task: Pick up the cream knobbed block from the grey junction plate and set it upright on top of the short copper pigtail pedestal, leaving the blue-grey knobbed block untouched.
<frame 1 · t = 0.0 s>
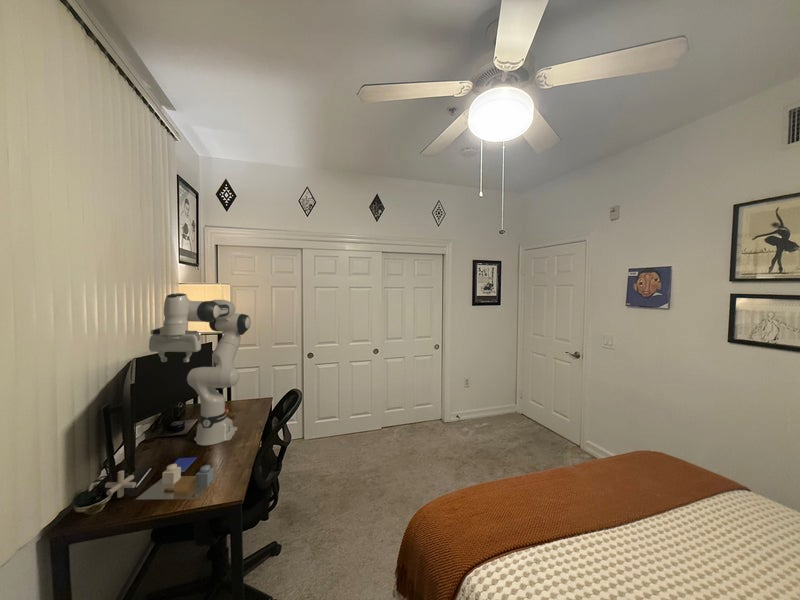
hand: (175, 361, 135), 48 cm above the table, fingers open, 8 cm apart
blue-grey knobbed block: (205, 481, 127), point 1 cm above the table, touching junction plate
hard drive: (180, 468, 139), on the table
junction plate: (179, 488, 123), on the table
pigtail stub: (185, 492, 121), resting on junction plate
pipe connector: (120, 498, 117), on the table
cream knobbed block: (171, 480, 127), point 1 cm above the table, touching junction plate
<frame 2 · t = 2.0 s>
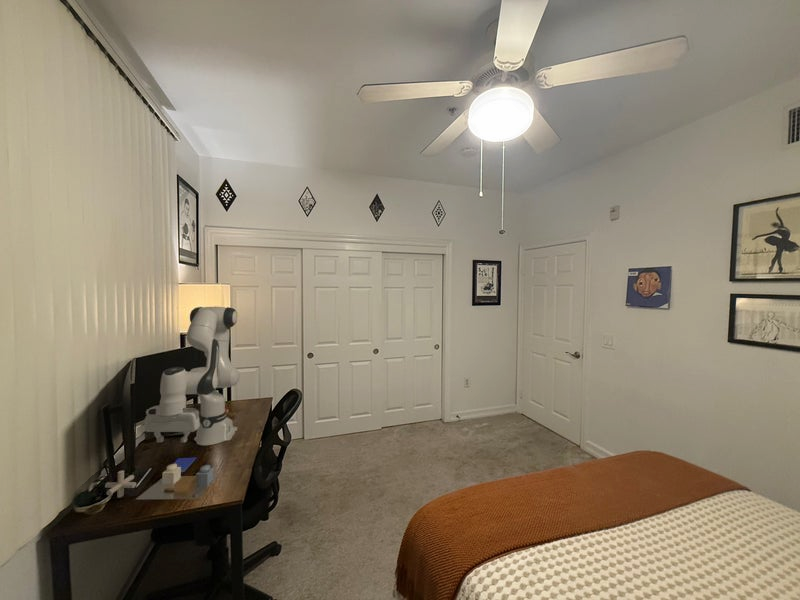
hand: (172, 441, 127), 17 cm above the table, fingers open, 8 cm apart
nothing on the table moved.
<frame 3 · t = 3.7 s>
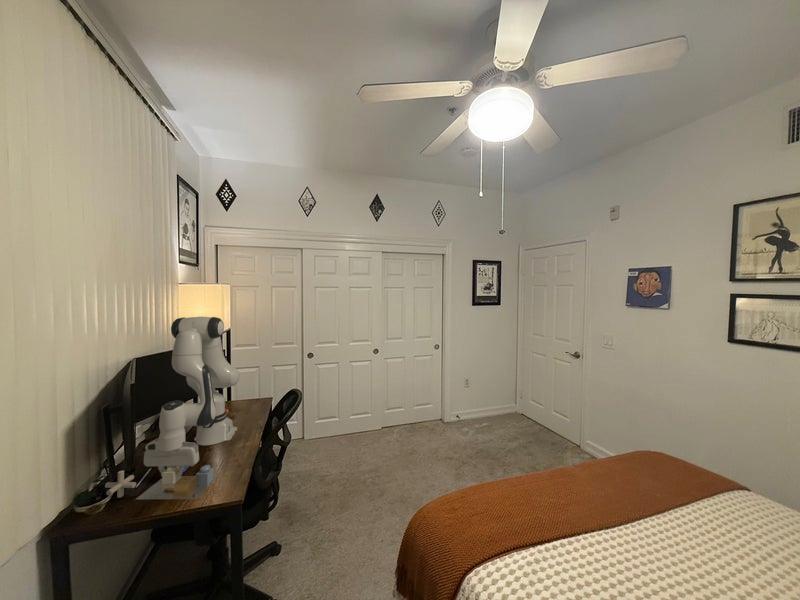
hand: (171, 475, 127), 3 cm above the table, fingers closed on cream knobbed block, 4 cm apart
cream knobbed block: (171, 480, 127), point 1 cm above the table, touching gripper, junction plate
everything else where it was.
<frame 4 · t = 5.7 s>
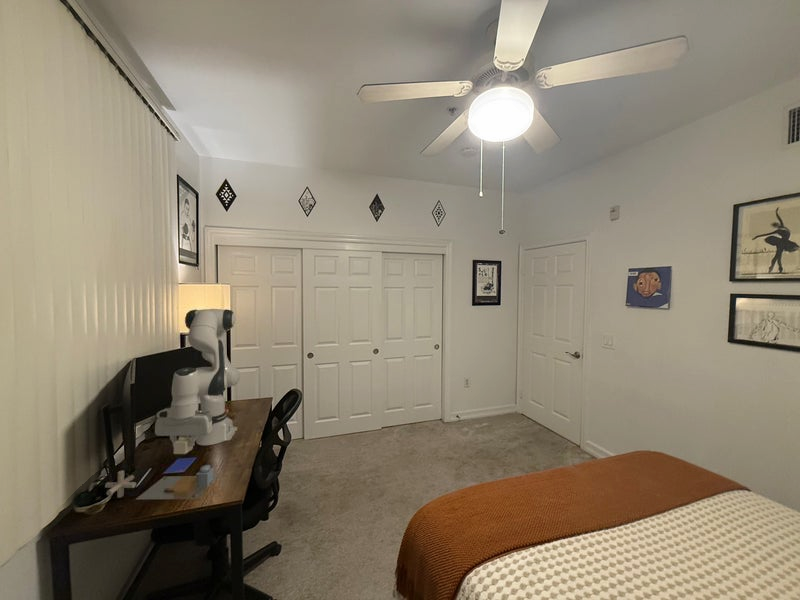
hand: (183, 446, 121), 18 cm above the table, fingers closed on cream knobbed block, 4 cm apart
cream knobbed block: (183, 451, 121), point 16 cm above the table, touching gripper
everything else where it was.
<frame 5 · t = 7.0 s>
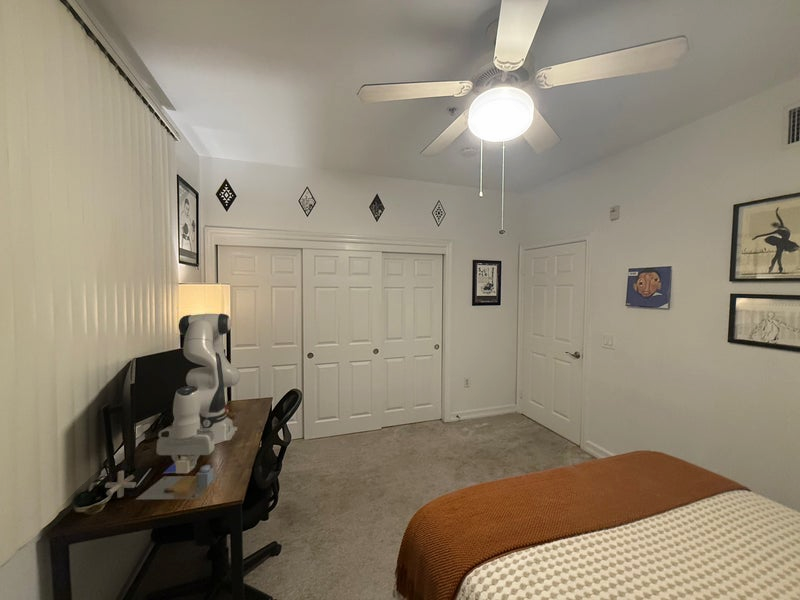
hand: (185, 465, 120), 11 cm above the table, fingers closed on cream knobbed block, 4 cm apart
cream knobbed block: (185, 470, 120), point 9 cm above the table, touching gripper
everything else where it was.
when the fingers open (8 cm above the table, at t = 7.9 s): cream knobbed block stays where it is, resting on pigtail stub.
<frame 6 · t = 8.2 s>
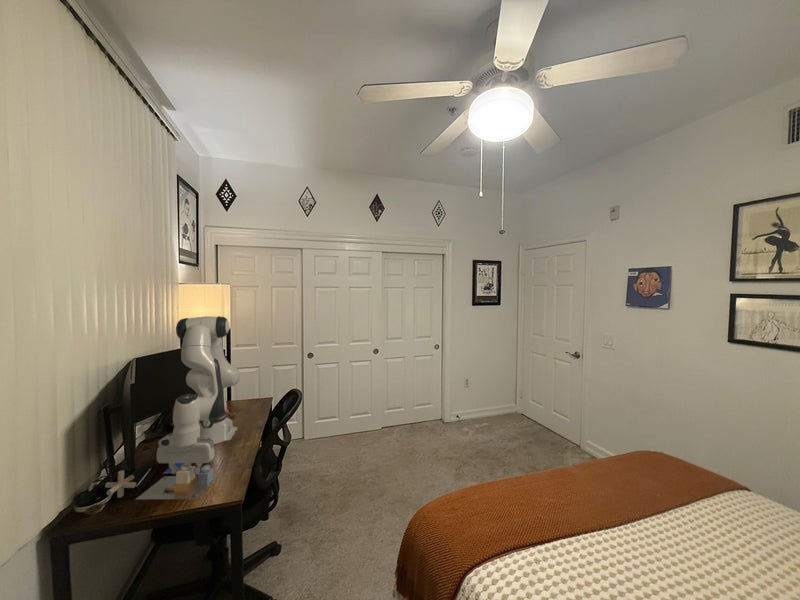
hand: (185, 473, 121), 8 cm above the table, fingers open, 7 cm apart
cream knobbed block: (185, 480, 121), point 5 cm above the table, touching pigtail stub
everything else where it was.
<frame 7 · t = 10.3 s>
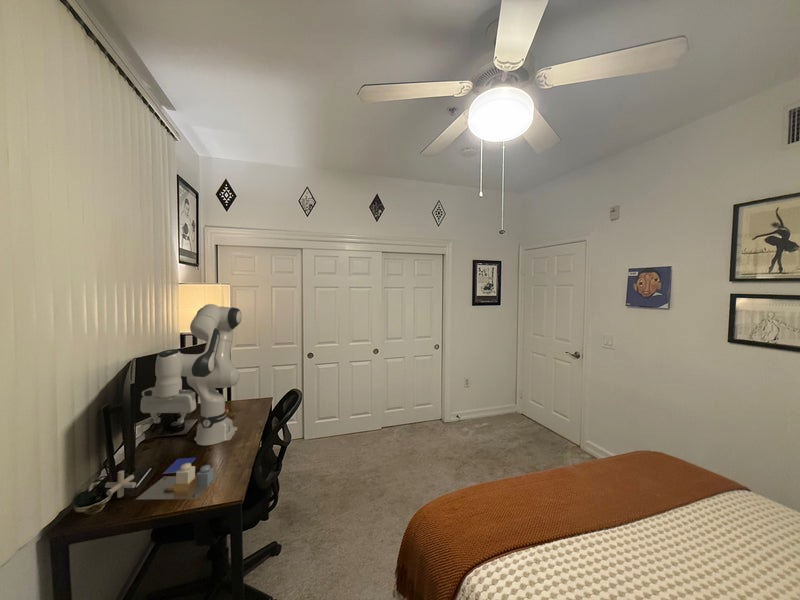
hand: (168, 422, 128), 24 cm above the table, fingers open, 8 cm apart
nothing on the table moved.
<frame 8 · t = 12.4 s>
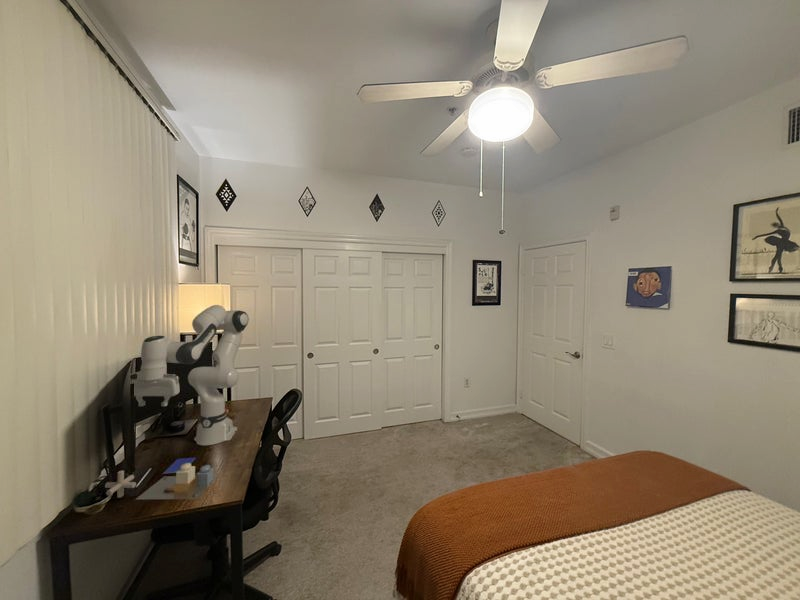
hand: (153, 405, 134), 29 cm above the table, fingers open, 8 cm apart
nothing on the table moved.
at the end: cream knobbed block 0.0 cm from the pigtail stub (horizontally); cream knobbed block point 4.8 cm above the table; cream knobbed block tilted 0° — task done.
